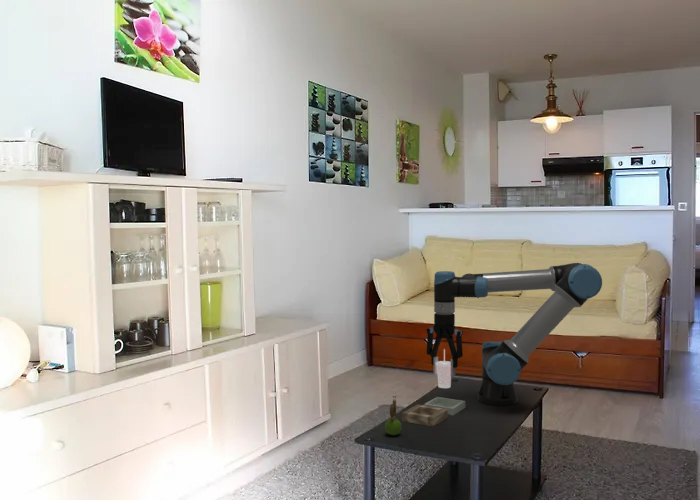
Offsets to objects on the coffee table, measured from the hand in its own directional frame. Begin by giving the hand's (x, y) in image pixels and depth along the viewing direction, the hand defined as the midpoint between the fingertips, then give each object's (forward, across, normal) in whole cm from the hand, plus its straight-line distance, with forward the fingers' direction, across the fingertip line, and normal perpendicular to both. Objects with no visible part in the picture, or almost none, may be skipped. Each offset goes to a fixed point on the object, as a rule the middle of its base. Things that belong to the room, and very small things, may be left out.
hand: (444, 375), depth 237 cm
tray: (+13, 0, 0) cm, 13 cm away
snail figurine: (+13, -3, -35) cm, 37 cm away
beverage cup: (+5, 0, 0) cm, 5 cm away
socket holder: (+13, -1, -15) cm, 20 cm away
